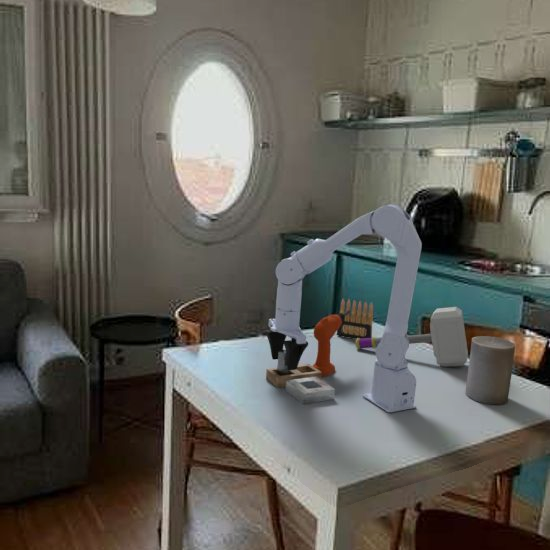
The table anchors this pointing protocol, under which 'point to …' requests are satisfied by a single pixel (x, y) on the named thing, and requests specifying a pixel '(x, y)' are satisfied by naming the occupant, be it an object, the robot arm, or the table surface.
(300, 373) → the rack
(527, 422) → the table surface
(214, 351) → the table surface
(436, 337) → the hammer
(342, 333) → the ammunition clip
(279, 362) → the grey metal cylinder
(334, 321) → the toy drill
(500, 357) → the pillar candle
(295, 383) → the socket block
